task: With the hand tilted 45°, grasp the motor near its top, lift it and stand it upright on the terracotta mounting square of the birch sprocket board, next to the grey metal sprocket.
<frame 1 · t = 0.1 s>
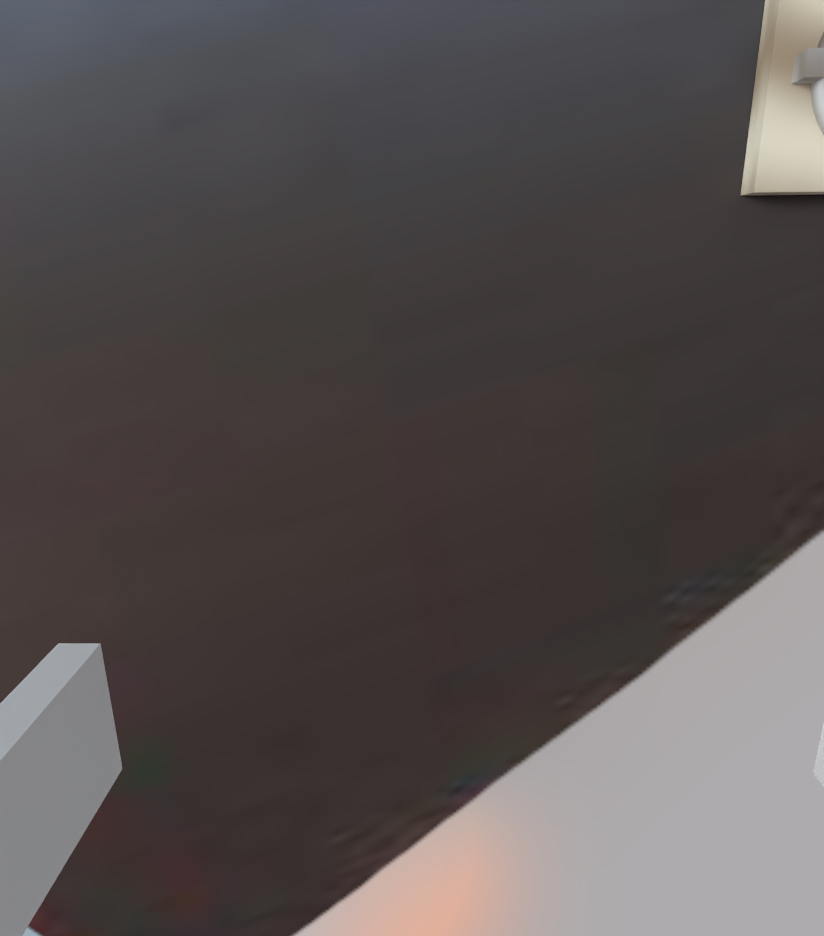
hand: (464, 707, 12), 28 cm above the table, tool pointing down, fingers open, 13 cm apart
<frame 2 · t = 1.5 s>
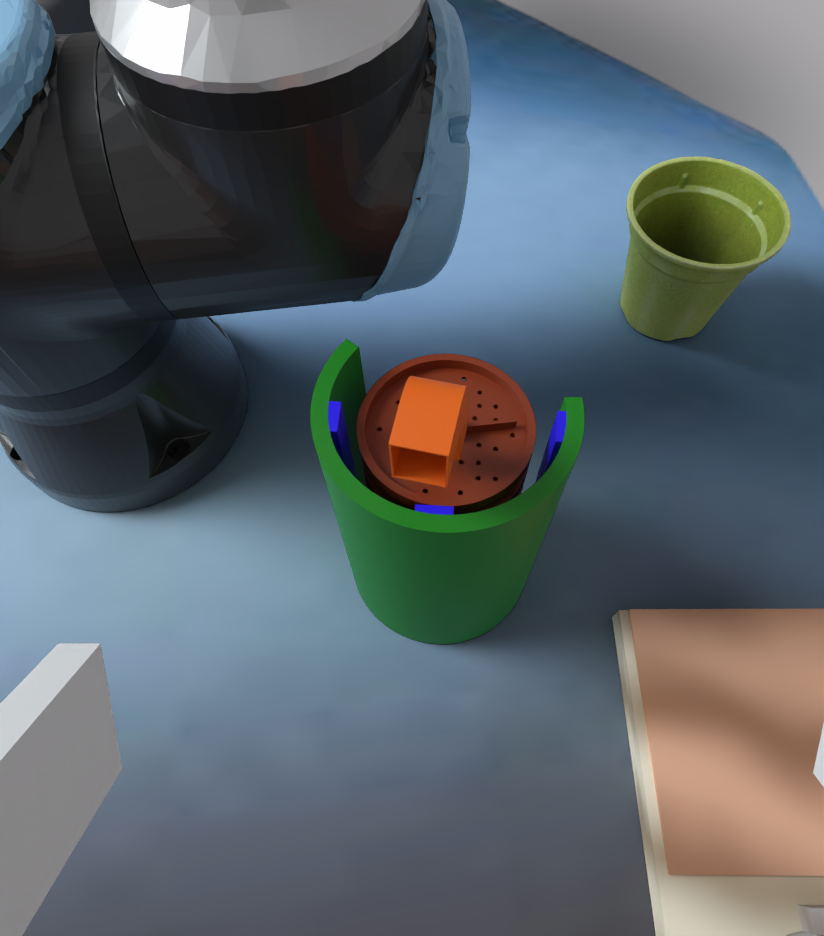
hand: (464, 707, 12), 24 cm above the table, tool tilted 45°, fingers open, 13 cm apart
plant pot: (661, 310, 46), on the table
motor: (439, 567, 38), on the table
sprocket board: (787, 872, 31), on the table
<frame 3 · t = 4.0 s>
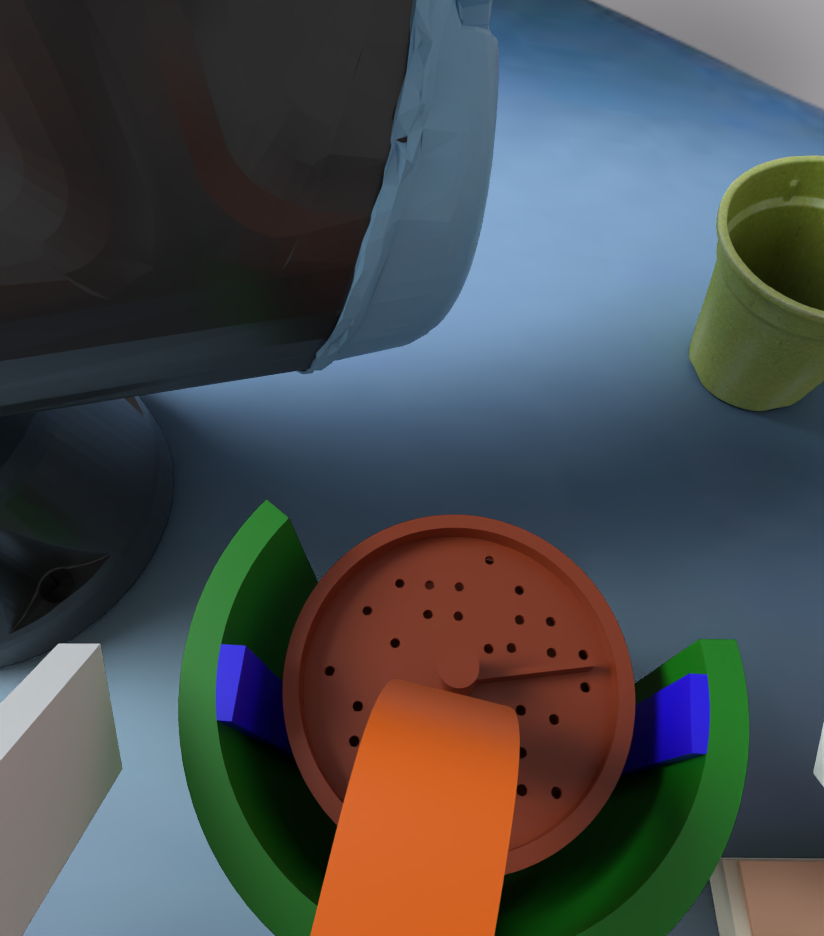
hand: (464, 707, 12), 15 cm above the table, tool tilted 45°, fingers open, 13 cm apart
plant pot: (744, 365, 34), on the table
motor: (441, 765, 26), on the table
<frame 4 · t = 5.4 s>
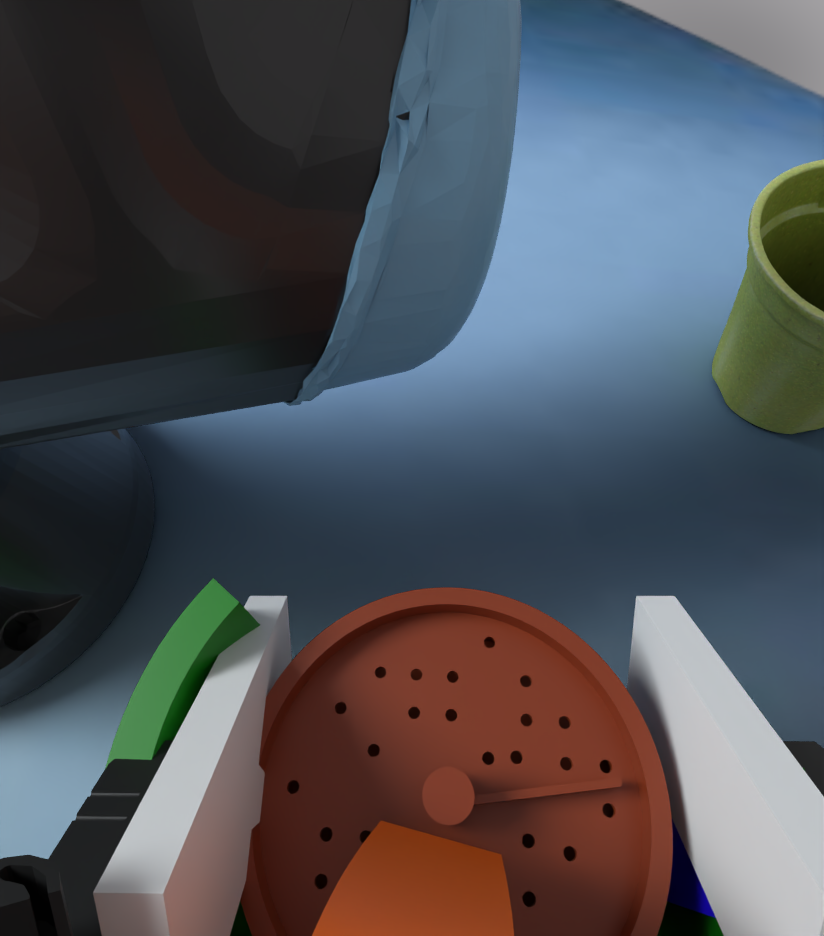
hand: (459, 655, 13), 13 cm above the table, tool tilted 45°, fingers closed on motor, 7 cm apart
plant pot: (772, 383, 32), on the table
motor: (446, 832, 23), on the table, touching gripper
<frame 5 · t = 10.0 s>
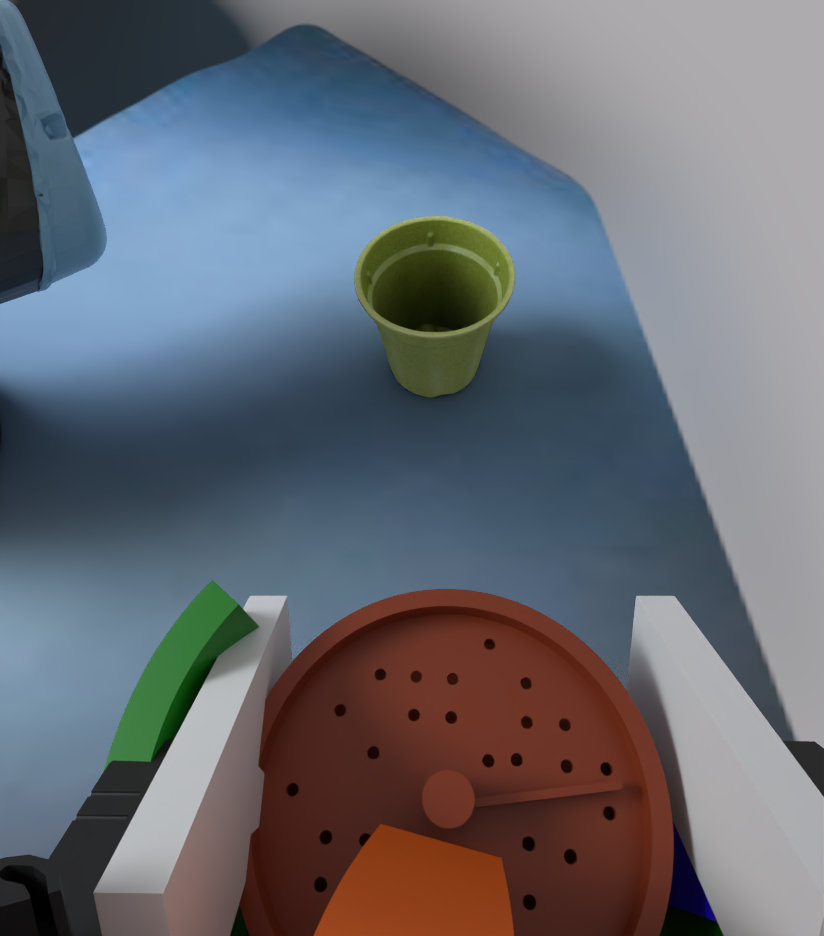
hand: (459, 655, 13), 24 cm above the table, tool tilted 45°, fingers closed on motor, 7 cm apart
plant pot: (433, 364, 46), on the table
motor: (446, 833, 23), point 11 cm above the table, touching gripper
when the fingers open (15 cm above the table, at t = 12.1 s): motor drops 1 cm, resting on sprocket board.
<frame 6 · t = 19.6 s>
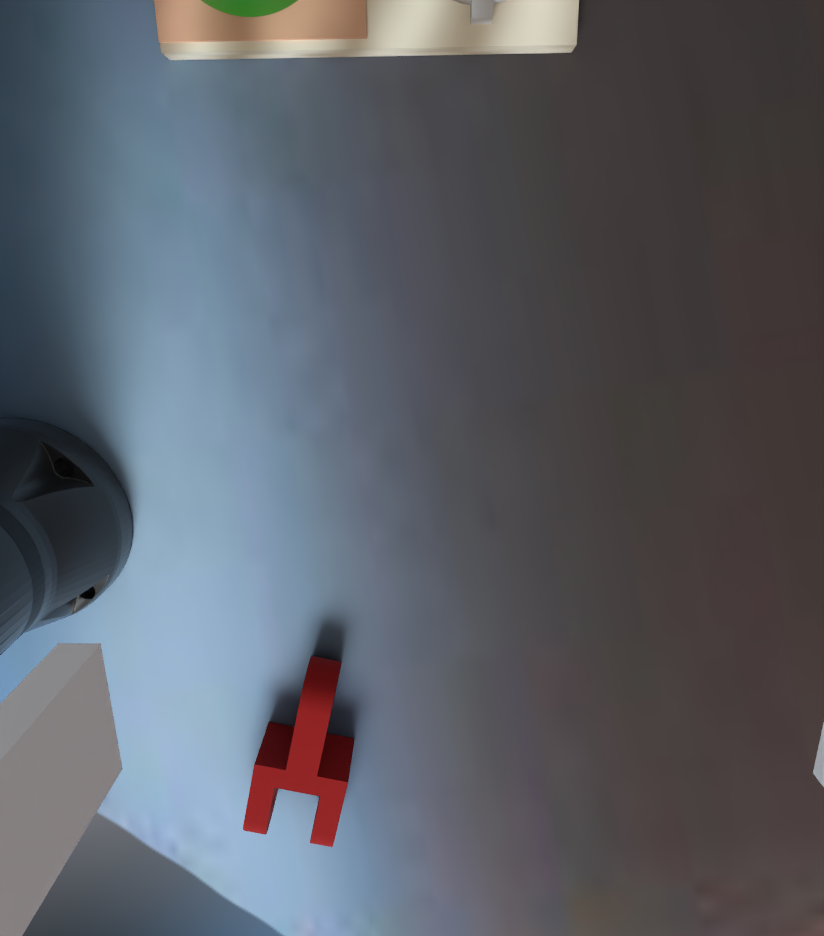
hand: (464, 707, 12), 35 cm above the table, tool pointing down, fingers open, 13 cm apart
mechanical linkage: (312, 726, 54), on the table
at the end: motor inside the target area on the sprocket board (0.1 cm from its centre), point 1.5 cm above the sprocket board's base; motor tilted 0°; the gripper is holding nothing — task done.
